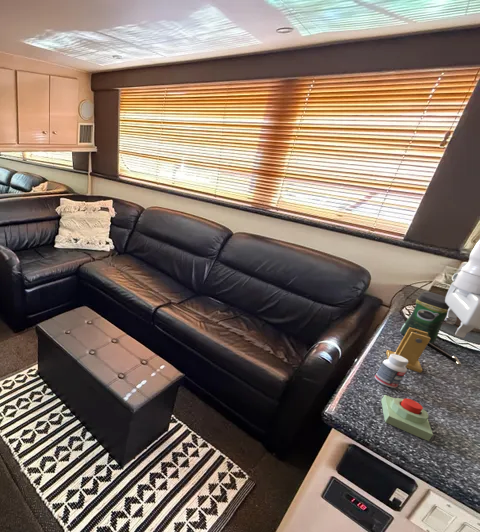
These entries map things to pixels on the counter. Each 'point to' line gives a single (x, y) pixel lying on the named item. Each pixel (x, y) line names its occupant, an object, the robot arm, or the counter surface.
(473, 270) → the robot arm
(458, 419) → the counter surface
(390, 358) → the pill bottle
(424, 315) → the coffee jar
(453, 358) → the lever
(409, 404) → the button
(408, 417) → the button box
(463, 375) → the counter surface
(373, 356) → the counter surface
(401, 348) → the bracket
